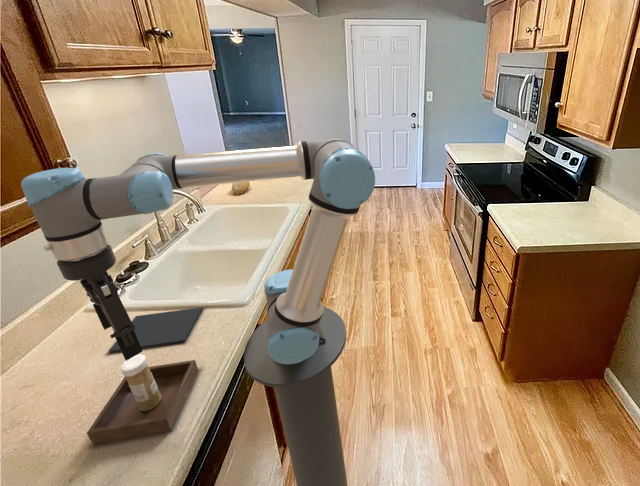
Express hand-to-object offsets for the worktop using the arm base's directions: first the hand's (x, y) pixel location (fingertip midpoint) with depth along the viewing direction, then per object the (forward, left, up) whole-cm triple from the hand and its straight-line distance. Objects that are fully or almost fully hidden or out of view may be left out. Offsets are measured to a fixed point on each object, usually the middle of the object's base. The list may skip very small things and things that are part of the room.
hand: (122, 339), depth 68 cm
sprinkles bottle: (+3, -3, -23) cm, 24 cm away
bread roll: (+19, -148, -19) cm, 151 cm away
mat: (+13, -29, -23) cm, 40 cm away
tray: (+3, -3, -23) cm, 24 cm away
